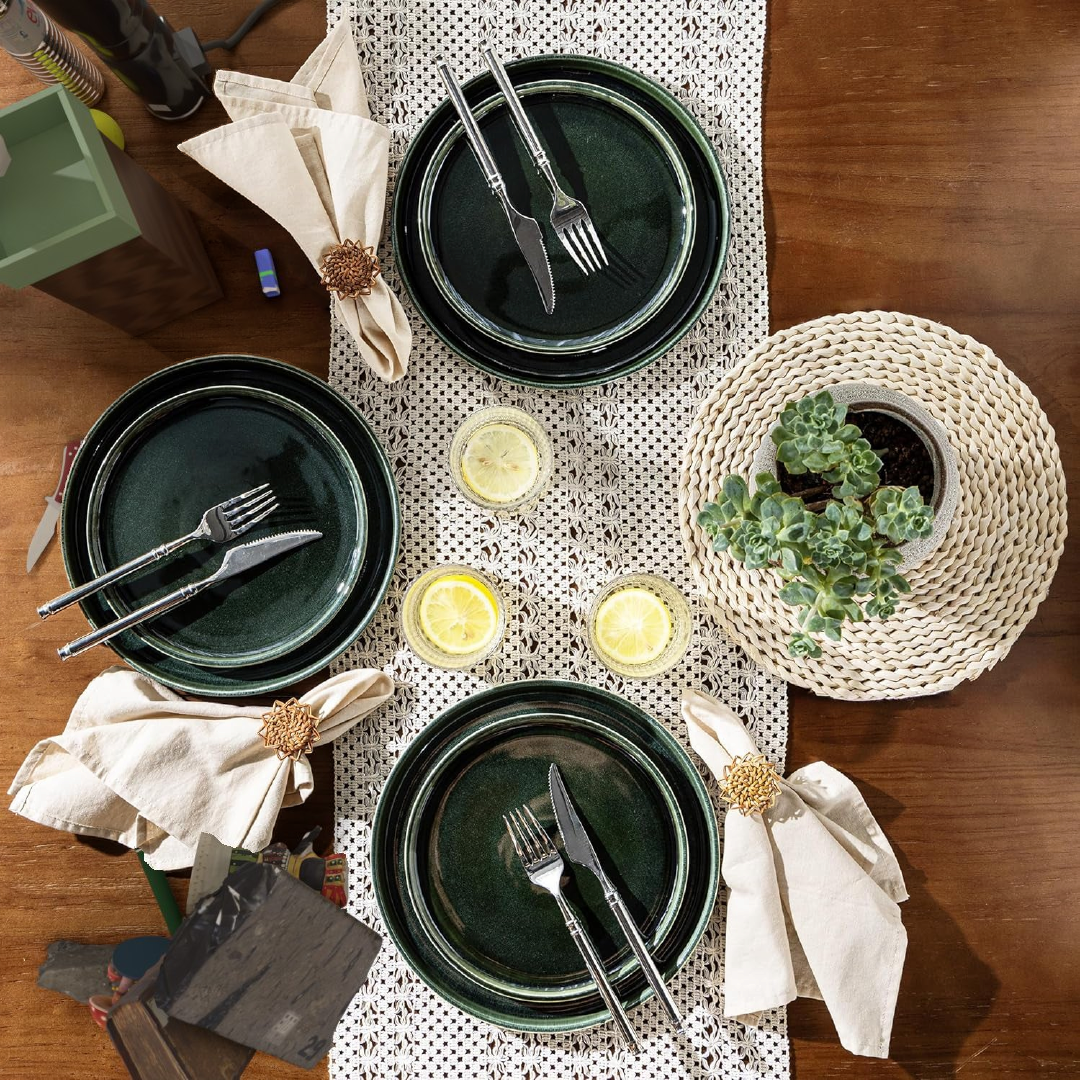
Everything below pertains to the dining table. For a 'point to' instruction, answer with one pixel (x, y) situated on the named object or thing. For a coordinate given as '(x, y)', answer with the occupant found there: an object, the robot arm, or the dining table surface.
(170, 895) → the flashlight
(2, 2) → the water bottle
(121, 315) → the bin stand
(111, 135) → the ornament
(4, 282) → the open bin
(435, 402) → the dining table surface
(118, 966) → the figurine
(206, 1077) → the book
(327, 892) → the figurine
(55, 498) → the knife
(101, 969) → the stone
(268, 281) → the eraser
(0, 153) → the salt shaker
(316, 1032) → the stone slab
